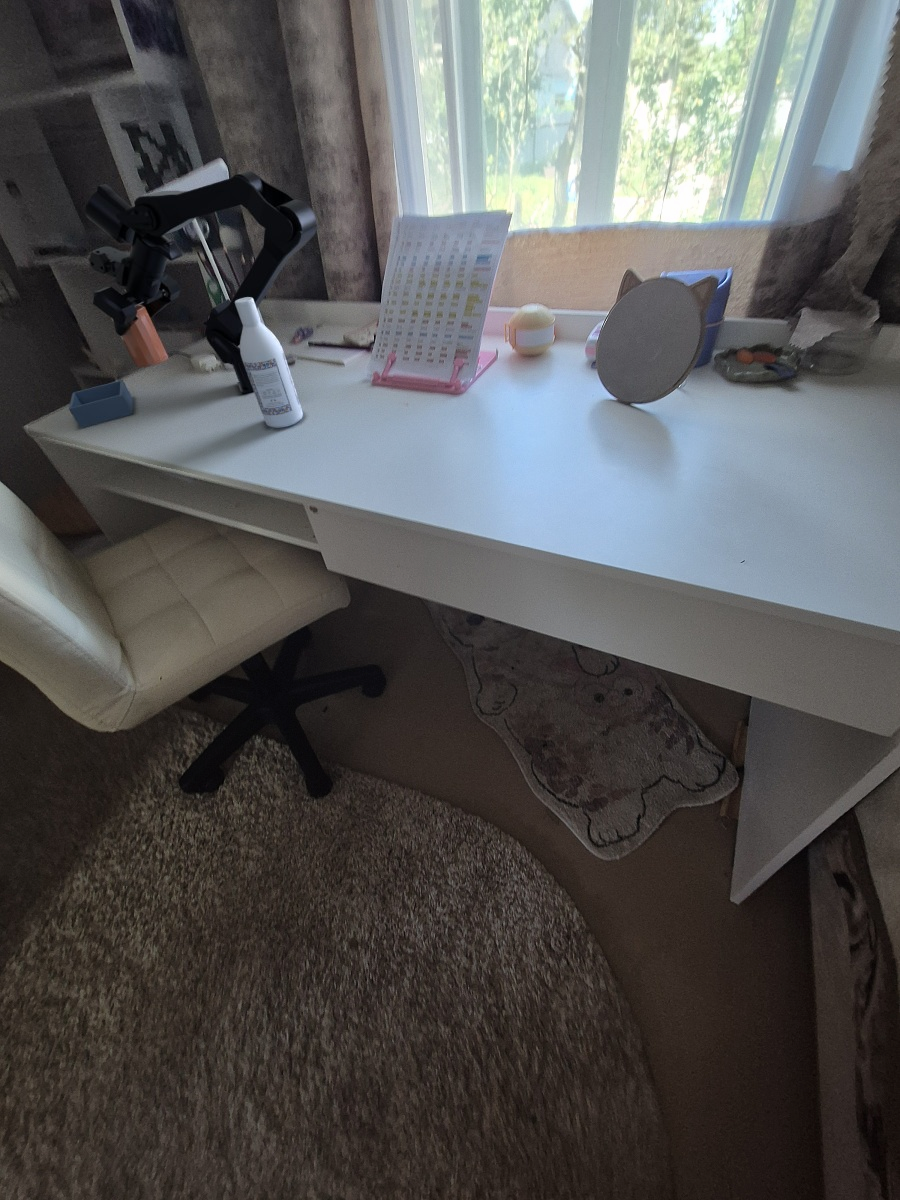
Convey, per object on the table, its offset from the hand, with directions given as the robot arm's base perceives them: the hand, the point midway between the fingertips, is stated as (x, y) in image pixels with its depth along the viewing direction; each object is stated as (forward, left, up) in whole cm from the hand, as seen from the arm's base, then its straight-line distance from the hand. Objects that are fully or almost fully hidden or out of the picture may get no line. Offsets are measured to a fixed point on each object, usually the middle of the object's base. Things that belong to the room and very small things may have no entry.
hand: (130, 328), depth 108 cm
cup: (-1, -1, -7) cm, 7 cm away
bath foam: (-37, -21, -13) cm, 44 cm away
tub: (-7, +11, -12) cm, 18 cm away
